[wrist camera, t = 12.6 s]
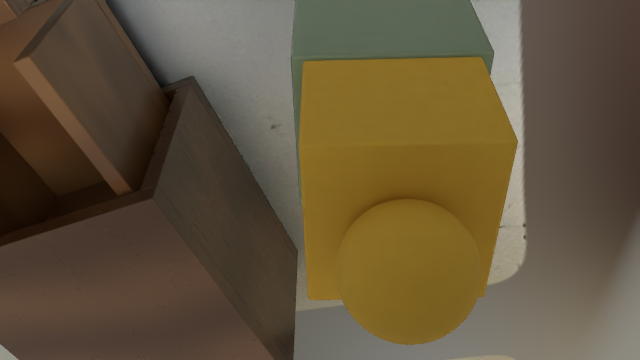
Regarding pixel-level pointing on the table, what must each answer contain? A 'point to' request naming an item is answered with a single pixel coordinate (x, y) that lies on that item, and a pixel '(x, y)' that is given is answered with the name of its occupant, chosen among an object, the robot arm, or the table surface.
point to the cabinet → (158, 261)
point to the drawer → (71, 110)
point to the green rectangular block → (382, 35)
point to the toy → (402, 189)
